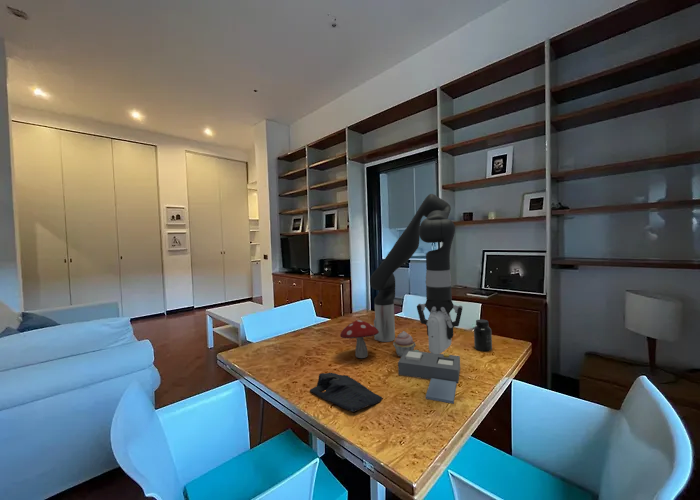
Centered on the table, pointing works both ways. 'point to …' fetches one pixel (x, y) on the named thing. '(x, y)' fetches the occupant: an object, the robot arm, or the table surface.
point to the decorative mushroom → (359, 335)
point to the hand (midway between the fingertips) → (440, 337)
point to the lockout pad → (441, 390)
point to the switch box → (430, 366)
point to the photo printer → (438, 333)
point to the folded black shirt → (344, 392)
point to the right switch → (445, 362)
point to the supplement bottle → (482, 336)
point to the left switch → (414, 356)
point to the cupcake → (403, 343)
